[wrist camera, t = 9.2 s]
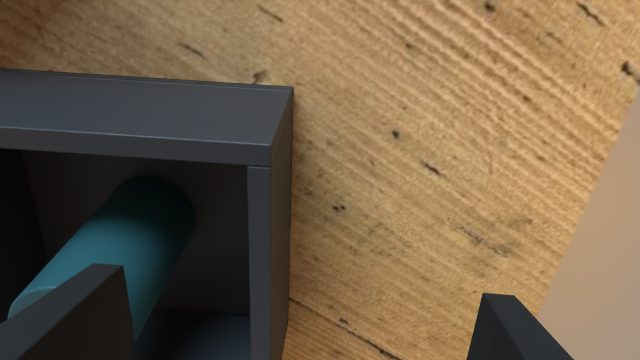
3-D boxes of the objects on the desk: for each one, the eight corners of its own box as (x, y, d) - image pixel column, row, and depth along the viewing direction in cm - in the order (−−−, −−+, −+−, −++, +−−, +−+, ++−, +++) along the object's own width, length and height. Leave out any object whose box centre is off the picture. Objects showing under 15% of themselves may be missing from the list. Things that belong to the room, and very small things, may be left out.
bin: (288, 320, 24) (270, 424, 19) (53, 302, 24) (-25, 398, 19) (293, 86, 19) (271, 144, 14) (-5, 67, 19) (-132, 117, 14)
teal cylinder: (198, 253, 22) (135, 385, 16) (116, 247, 22) (21, 375, 16) (193, 178, 20) (119, 292, 14) (104, 172, 20) (-8, 282, 14)
